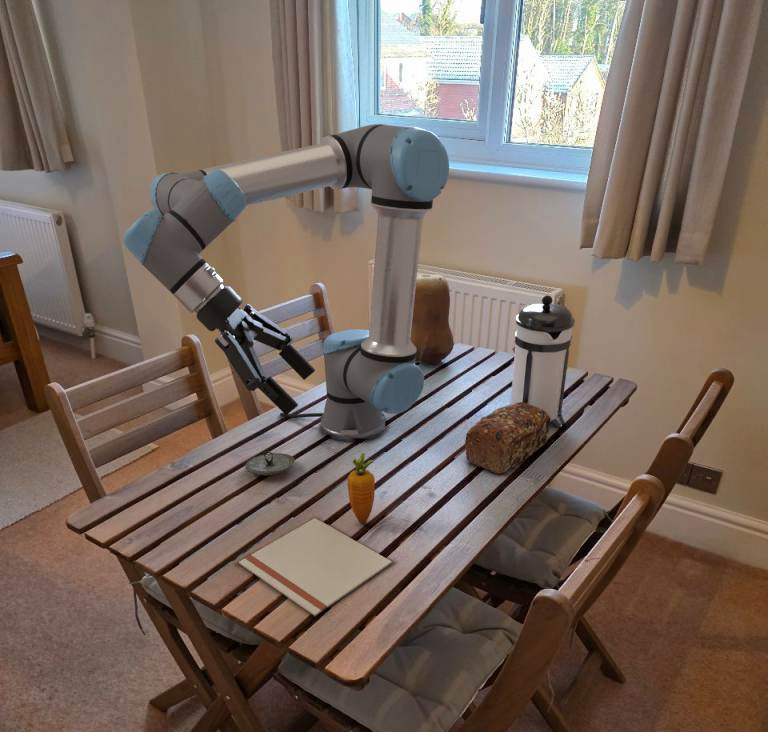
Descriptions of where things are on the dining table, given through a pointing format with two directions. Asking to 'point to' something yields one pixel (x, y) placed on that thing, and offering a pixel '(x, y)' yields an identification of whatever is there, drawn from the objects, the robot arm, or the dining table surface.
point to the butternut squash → (431, 320)
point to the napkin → (315, 565)
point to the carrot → (361, 489)
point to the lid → (269, 463)
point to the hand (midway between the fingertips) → (301, 391)
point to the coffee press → (542, 356)
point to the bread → (507, 436)
